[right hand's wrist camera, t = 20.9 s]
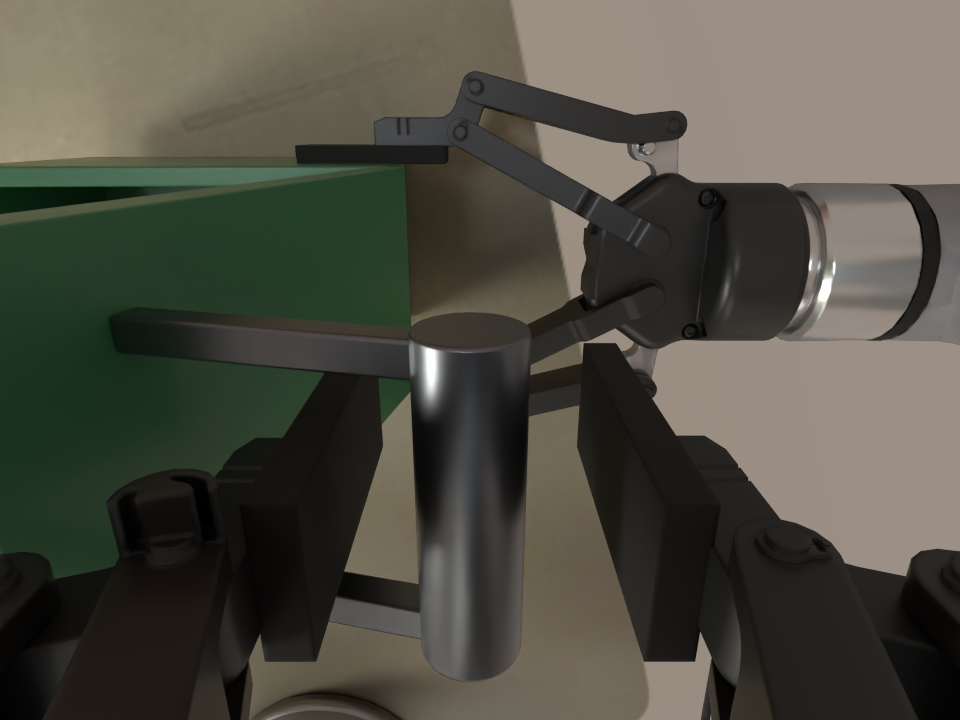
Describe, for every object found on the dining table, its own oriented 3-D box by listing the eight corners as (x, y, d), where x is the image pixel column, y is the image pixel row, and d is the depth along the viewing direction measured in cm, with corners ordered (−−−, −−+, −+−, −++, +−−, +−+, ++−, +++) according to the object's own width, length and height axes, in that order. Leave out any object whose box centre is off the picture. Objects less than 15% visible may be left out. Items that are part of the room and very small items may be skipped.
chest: (125, 322, 36) (15, 390, 26) (90, 157, 33) (-51, 166, 23) (410, 318, 37) (401, 381, 27) (404, 157, 34) (391, 165, 24)
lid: (20, 761, 11) (482, 892, 9) (-179, 236, 8) (486, 271, 6) (388, 385, 27) (579, 404, 25) (376, 166, 24) (595, 169, 22)
